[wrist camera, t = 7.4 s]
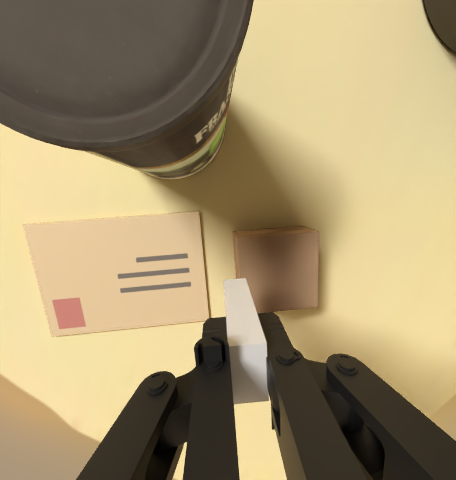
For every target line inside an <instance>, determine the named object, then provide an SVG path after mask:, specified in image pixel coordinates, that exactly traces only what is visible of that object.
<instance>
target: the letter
mask: <svg viewBox="0 0 456 480" xmlns="http://www.w3.org/2000/svg"><path fill="white" fill-rule="evenodd" d="M23 228H24V232H25V236H26V239H27V243H28V247H29V251H30V255H31V259H32V263H33V266H34V270H35V274H36V278H37V282H38V286H39V289H40V293H41V297H42V301H43V305H44V309H45V313H46V316H47V320H48V324H49V328H50V332H51V336H52V337H54V336H64V335H73V334H83V333H92V332H102V331H111V330H121V329H131V328H140V327H150V326H159V325H169V324H178V323H188V322H197V321H206V320H207V319H208V318H209V310H208V300H207V289H206V279H205V268H204V258H203V247H202V236H201V226H200V215H199V211H195V212H182V213H168V214H155V215H141V216H128V217H115V218H101V219H88V220H74V221H61V222H47V223H34V224H23Z"/></svg>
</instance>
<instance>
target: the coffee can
mask: <svg viewBox="0 0 456 480" xmlns="http://www.w3.org/2000/svg"><path fill="white" fill-rule="evenodd" d="M253 1H254V0H0V123H1V124H3V125H5V126H7V127H9V128H11V129H13V130H15V131H17V132H19V133H22V134H24V135H26V136H29V137H31V138H34V139H37V140H40V141H43V142H46V143H50V144H53V145H57V146H61V147H65V148H69V149H75V150H81V151H85V152H88V153H91V154H94V155H96V156H99V157H102V158H105V159H108V160H111V161H113V162H116V163H119V164H122V165H125V166H127V167H130V168H133V169H136V170H139V171H141V172H144V173H146V174H148V175H150V176H153V177H157V178H160V179H181V178H185V177H188V176H191V175H193V174H195V173H197V172H199V171H201V170H202V169H203V168H205V167H206V166H207V165H208V164H209V163H210V162H211V161H212V159H213V158H214V157H215V155H216V154H217V152H218V150H219V148H220V146H221V143H222V140H223V137H224V133H225V122H226V117H227V111H228V106H229V102H230V97H231V92H232V86H233V81H234V76H235V71H236V66H237V61H238V56H239V54H240V51H241V48H242V45H243V42H244V39H245V36H246V32H247V29H248V25H249V21H250V16H251V12H252V6H253Z"/></svg>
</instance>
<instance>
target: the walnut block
mask: <svg viewBox="0 0 456 480" xmlns="http://www.w3.org/2000/svg"><path fill="white" fill-rule="evenodd" d="M233 240H234V255H235V270H236V279H240V278H246V281H247V284H248V287H249V290H250V293H251V296H252V299H253V302H254V305H255V308H256V312H257V313H266V312H275V311H284V310H294V309H303V308H313V307H318V258H319V232H318V231H315V230H312V229H309V228H306V227H303V226H293V227H280V228H268V229H256V230H244V231H233Z"/></svg>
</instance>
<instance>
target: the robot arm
mask: <svg viewBox="0 0 456 480" xmlns="http://www.w3.org/2000/svg"><path fill="white" fill-rule="evenodd" d="M424 3H425V7H426V11H427V14H428V17H429V19H430V22H431V24H432V26H433V28H434V29H435V31H436V33H437V34H438V36H439V37H440V38H441V40H442V41H443V42H444V43H445V44H446V45H447V46H448V47H449V48H450V49H451V50H453V51H454V52H455V53H456V0H424ZM224 295H225V309H226V317H219V318H208V319H207V320H206V322H205V323H204V324H203V333H202V339H200V340H199V341H198V342H197V343H196V344H195V347H194V352H195V360H196V367H195V368H194V369H193V370H192V371H190V372H189V373H187V374H185V375H182V376H180V377H177V378H175V376H174V375H173V374H172V373H170V372H167V371H161V372H156V373H154V374H151V375H150V376H148V377H147V378H145V379H144V380H143V382H142V383H141V384H140V385H139V387H138V388H137V390H136V391H135V393H134V394H133V396H132V397H131V399H130V400H129V402H128V403H127V405H126V406H125V408H124V409H123V411H122V412H121V413H120V415H119V416H118V418H117V419H116V421H115V422H114V424H113V425H112V427H111V428H110V430H109V431H108V433H107V434H106V436H105V437H104V439H103V440H102V442H101V443H100V445H99V446H98V448H97V449H96V451H95V452H94V454H93V455H92V457H91V458H90V460H89V461H88V463H87V464H86V466H85V467H84V469H83V470H82V472H81V473H80V475H79V476H78V478H77V479H76V480H172V478H173V475H174V472H175V469H176V466H177V464H178V461H179V458H180V455H181V452H182V449H183V445H184V443H185V442H187V448H186V457H185V465H184V474H183V480H239V467H238V455H237V442H236V429H235V416H234V404H241V403H251V402H261V401H269V396H270V400H271V415H272V430H273V429H275V431H276V435H277V439H278V443H279V447H280V452H281V456H282V460H283V464H284V468H285V472H286V477H287V480H456V441H455V440H453V438H451V437H450V436H449V435H448V434H447V433H445V432H444V431H443V430H442V429H441V428H439V427H438V426H437V425H436V424H435V423H433V422H432V421H431V420H430V419H429V418H428V417H426V416H425V415H424V414H423V413H422V412H420V411H419V410H418V409H417V408H416V407H414V406H413V405H412V404H411V403H410V402H408V401H407V400H406V399H405V398H404V397H402V396H401V395H400V394H399V393H398V392H396V391H395V390H394V389H393V388H392V387H391V386H389V385H388V384H387V383H386V382H385V381H383V380H382V379H381V378H380V377H379V376H377V375H376V374H375V373H374V372H373V371H371V370H370V369H369V368H368V367H367V366H365V365H364V364H363V363H362V362H361V361H359V360H357V359H356V358H354V357H352V356H349V355H345V354H333V355H331V356H330V357H328V359H327V363H320V362H314V361H310V360H307V359H305V358H304V357H303V355H302V354H301V353H300V352H299V351H298V350H296V349H294V348H293V346H292V344H291V342H290V340H289V338H288V336H287V333H286V331H285V330H284V327H283V325H282V323H281V321H280V319H279V317H278V316H277V315H275V314H274V313H273V312H268V313H257V312H256V308H255V305H254V302H253V299H252V296H251V293H250V290H249V287H248V284H247V281H246V278H240V279H228V280H224ZM268 392H269V394H268Z"/></svg>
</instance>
